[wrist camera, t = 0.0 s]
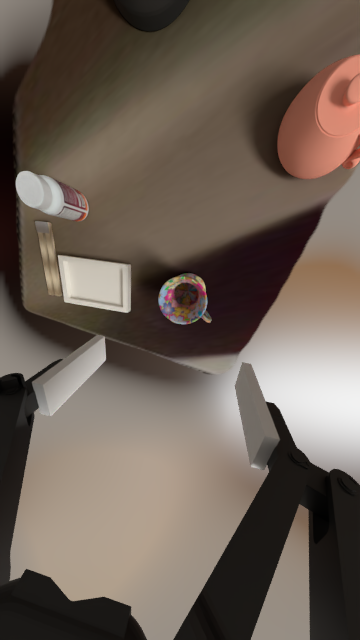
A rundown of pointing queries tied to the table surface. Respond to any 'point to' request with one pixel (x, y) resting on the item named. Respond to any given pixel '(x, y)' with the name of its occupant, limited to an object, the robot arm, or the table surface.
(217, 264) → the table surface
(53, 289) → the tongs
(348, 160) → the pink teapot
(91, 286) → the tray
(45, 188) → the pill bottle
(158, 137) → the table surface
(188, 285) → the mug
